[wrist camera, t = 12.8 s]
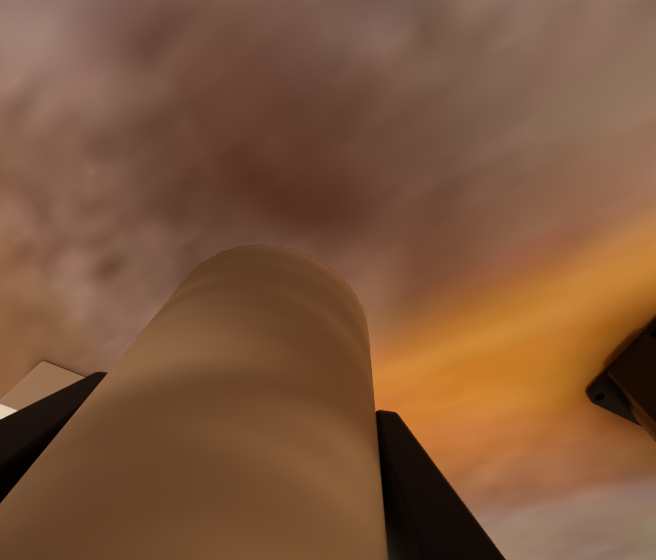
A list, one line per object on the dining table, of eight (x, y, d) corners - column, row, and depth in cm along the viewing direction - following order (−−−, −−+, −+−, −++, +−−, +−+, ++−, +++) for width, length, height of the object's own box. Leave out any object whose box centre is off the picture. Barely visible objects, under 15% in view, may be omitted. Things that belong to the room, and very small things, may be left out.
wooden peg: (386, 262, 10) (580, 1124, 2) (350, 427, 12) (360, 1174, 4) (169, 230, 10) (-750, 986, 2) (170, 402, 12) (-224, 1116, 4)
